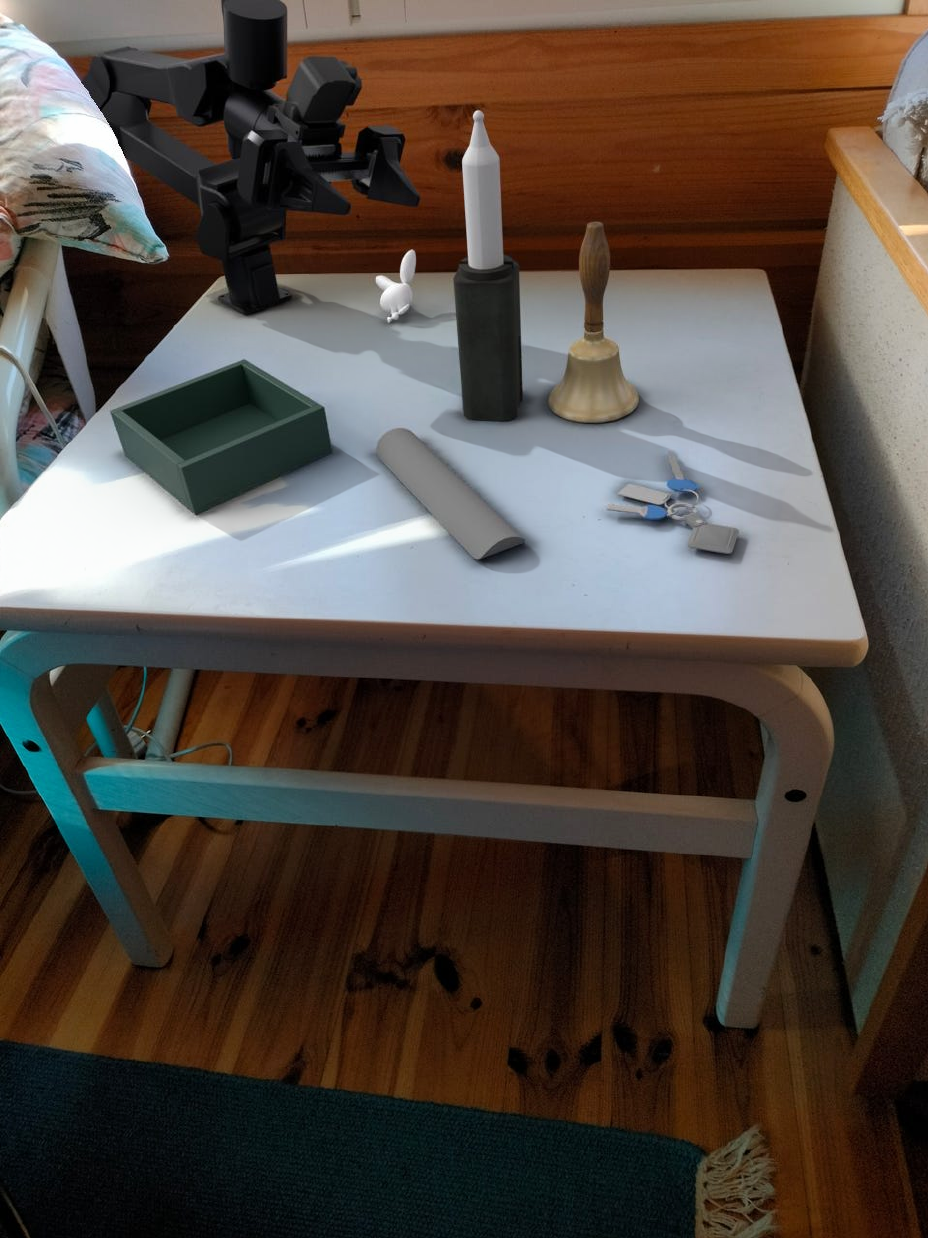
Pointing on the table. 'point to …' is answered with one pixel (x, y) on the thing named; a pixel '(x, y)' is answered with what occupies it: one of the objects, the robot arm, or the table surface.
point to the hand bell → (593, 349)
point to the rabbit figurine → (398, 288)
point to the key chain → (702, 532)
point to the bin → (222, 434)
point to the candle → (487, 293)
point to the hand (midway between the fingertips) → (384, 205)
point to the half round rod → (446, 495)
